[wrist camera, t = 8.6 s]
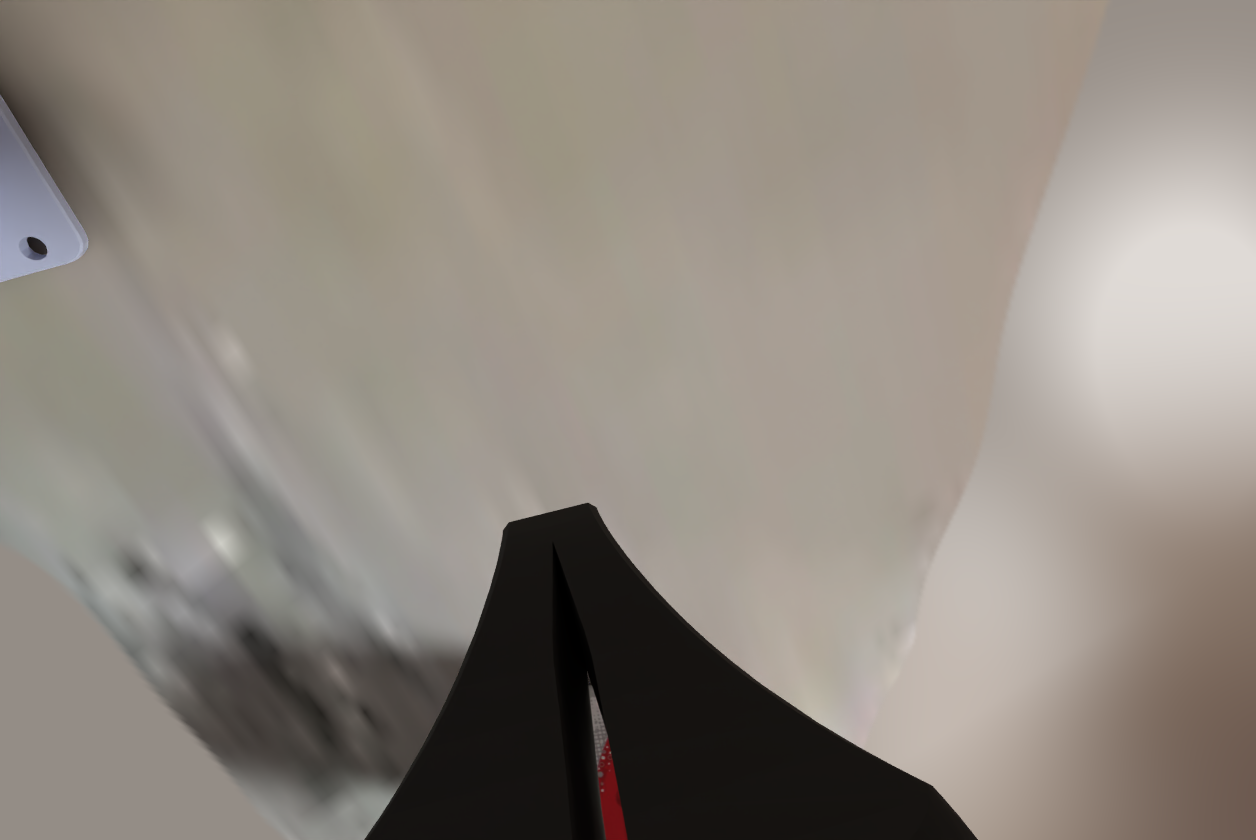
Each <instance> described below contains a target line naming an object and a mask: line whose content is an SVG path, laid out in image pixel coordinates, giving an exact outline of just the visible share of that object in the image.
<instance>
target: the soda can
mask: <svg viewBox="0 0 1256 840" xmlns="http://www.w3.org/2000/svg"><path fill="white" fill-rule="evenodd" d="M589 694H590V703H591V712H592V722H593V731H594V741H595V750H596V760H597V769H598V779H599V788H600V798H601V807H602V815H603V821H604V828H605V835H606V840H628V839H627V834H626V828H625V823H624V817H623V812H622V807H621V802H620V797H619V791H618V786H617V781H616V776H615V771H614V765H613V760H612V755H611V750H610V745H609V740H608V735H607V732H606V728H605V725H604V722H603V719H602V716H601V713H600V710H599V706H598V703H597V700H596V697H595V694H594V691H593V687H592V685H589Z"/></svg>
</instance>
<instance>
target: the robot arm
mask: <svg viewBox="0 0 1256 840" xmlns="http://www.w3.org/2000/svg"><path fill="white" fill-rule="evenodd" d="M28 237H35V238H37V239H39V240H41V241H42V242H43V243H44V244H45V245H46V248H47V251H48V252H47V255H41V254H39V253H36V252H34V251H33V250H32V249H31V248H30V247H29V246H28V243H27V238H28ZM87 249H88V238H87V235H86V233H85V231H84V229H83V227H82V226H81V224H80V222H79V221H78V219H77V218H76V216H75V214H74V213H73V211H72V210H71V208H70V206H69V205H68V203H67V201H66V200H65V198H64V197H63V195H62V193H61V192H60V190H59V188H58V187H57V185H56V184H55V182H54V180H53V179H52V177H51V176H50V174H49V172H48V171H47V169H46V167H45V166H44V164H43V163H42V161H41V159H40V158H39V156H38V154H37V153H36V151H35V150H34V148H33V146H32V145H31V143H30V142H29V140H28V138H27V137H26V135H25V133H24V132H23V130H22V129H21V127H20V125H19V124H18V122H17V120H16V119H15V117H14V116H13V114H12V112H11V111H10V109H9V108H8V106H7V104H6V103H5V101H4V99H3V98H2V96H1V95H0V282H2V281H6V280H10V279H13V278H17V277H21V276H24V275H28V274H31V273H35V272H39V271H42V270H46V269H50V268H53V267H57V266H61V265H64V264H68V263H71V262H73V261H75V260H77V259H79V258H80V257H81V256H82V255H83V254H84V253H85V252H86V250H87ZM587 672H588V675H589V678H590V681H591V684H592V687H593V691H594V694H595V697H596V700H597V703H598V706H599V710H600V713H601V716H602V719H603V722H604V725H605V728H606V732H607V735H608V740H609V745H610V750H611V755H612V760H613V765H614V771H615V776H616V781H617V786H618V791H619V797H620V802H621V807H622V812H623V817H624V823H625V828H626V834H627V839H628V840H978V839H977V838H976V837H975V836H974V834H973V833H972V832H971V831H970V829H969V828H968V827H967V825H966V824H965V823H964V822H963V821H962V819H961V818H960V817H959V815H958V814H957V813H956V812H955V811H954V810H953V809H952V807H951V806H950V805H949V804H948V803H947V802H946V801H945V799H943V797H942V796H941V795H940V794H939V793H938V792H937V790H936V789H935V788H934V787H933V786H931V785H930V784H928V783H926V782H924V781H922V780H920V779H918V778H916V777H914V776H912V775H910V774H908V773H906V772H904V771H902V770H900V769H898V768H896V767H894V766H892V765H891V764H888V763H887V762H885V761H883V760H881V759H880V758H878V757H876V756H874V755H872V754H870V753H869V752H867V751H865V750H863V749H861V748H860V747H858V746H856V745H854V744H853V743H851V742H849V741H848V740H846V739H844V738H843V737H841V736H839V735H838V734H836V733H834V732H833V731H831V730H829V729H828V728H826V727H824V726H823V725H821V724H819V723H818V722H816V721H815V720H813V719H812V718H810V717H809V716H807V715H806V714H804V713H803V712H801V711H800V710H798V709H797V708H795V707H794V706H792V705H791V704H790V703H788V702H787V701H785V700H784V699H782V698H781V697H779V696H778V695H776V694H775V693H773V692H772V691H770V690H769V689H767V688H766V687H765V686H763V685H762V684H760V683H759V682H758V681H756V680H755V679H754V678H752V677H751V676H750V675H749V674H747V673H746V672H745V671H743V670H742V669H741V668H740V667H738V666H737V665H736V664H734V663H733V662H732V661H731V660H729V659H728V658H727V657H726V656H725V655H724V654H722V653H721V652H720V651H719V650H718V649H716V648H715V647H714V646H713V645H712V644H710V643H709V642H708V641H707V640H706V639H705V638H704V637H703V636H702V635H700V634H699V633H698V632H697V631H696V630H695V629H694V628H693V627H692V626H691V625H690V624H689V623H688V622H686V621H685V620H684V619H683V618H682V617H681V616H680V615H679V614H678V613H677V612H676V611H675V610H674V609H673V608H672V607H671V606H670V605H669V604H668V603H667V601H666V600H665V599H664V598H663V597H662V596H661V595H660V594H659V593H658V592H657V591H656V590H655V589H654V587H653V586H652V585H651V584H650V583H649V582H648V581H647V579H646V578H645V577H644V576H643V575H642V574H641V572H640V571H639V570H638V569H637V568H636V567H635V565H634V564H633V563H632V562H631V560H630V559H629V558H628V557H627V555H626V554H625V553H624V551H623V550H622V549H621V547H620V546H619V545H618V543H617V542H616V541H615V539H614V538H613V536H612V535H611V533H610V532H609V530H608V529H607V527H606V525H605V524H604V522H603V520H602V518H601V516H600V515H599V512H598V510H597V508H596V507H595V506H593V505H591V504H589V503H585V504H581V505H577V506H573V507H569V508H565V509H561V510H557V511H553V512H549V513H545V514H541V515H537V516H533V517H529V518H525V519H521V520H517V521H513V522H509V523H508V524H507V526H506V527H505V529H504V530H503V536H502V542H501V547H500V552H499V557H498V561H497V565H496V569H495V572H494V576H493V580H492V583H491V587H490V590H489V593H488V596H487V599H486V602H485V605H484V608H483V611H482V614H481V617H480V620H479V623H478V626H477V629H476V631H475V634H474V637H473V639H472V641H471V644H470V646H469V649H468V651H467V654H466V656H465V659H464V661H463V663H462V666H461V668H460V671H459V673H458V676H457V678H456V680H455V682H454V685H453V687H452V689H451V691H450V693H449V695H448V698H447V700H446V702H445V704H444V706H443V708H442V710H441V712H440V714H439V716H438V718H437V720H436V722H435V724H434V726H433V728H432V730H431V731H430V733H429V735H428V737H427V739H426V741H425V743H424V745H423V746H422V748H421V750H420V752H419V753H418V755H417V757H416V759H415V760H414V762H413V764H412V765H411V767H410V769H409V771H408V772H407V774H406V776H405V778H404V779H403V781H402V783H401V784H400V786H399V788H398V789H397V791H396V793H395V794H394V796H393V797H392V799H391V801H390V802H389V804H388V805H387V807H386V809H385V810H384V812H383V813H382V815H381V816H380V818H379V819H378V821H377V822H376V824H375V825H374V826H373V828H372V829H371V831H370V832H369V834H368V835H367V837H366V838H365V839H364V840H606V835H605V828H604V821H603V815H602V807H601V798H600V788H599V779H598V769H597V760H596V750H595V741H594V731H593V722H592V712H591V703H590V694H589V685H588V676H587Z"/></svg>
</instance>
